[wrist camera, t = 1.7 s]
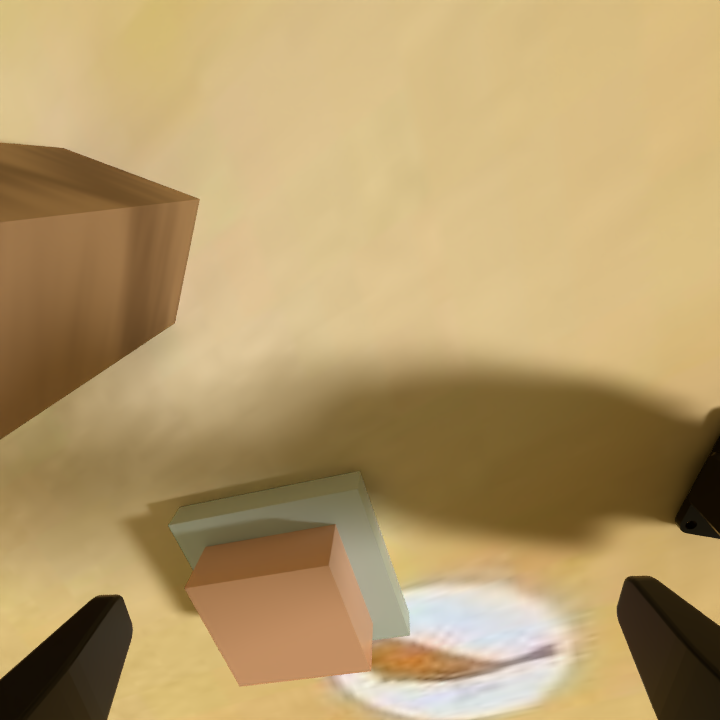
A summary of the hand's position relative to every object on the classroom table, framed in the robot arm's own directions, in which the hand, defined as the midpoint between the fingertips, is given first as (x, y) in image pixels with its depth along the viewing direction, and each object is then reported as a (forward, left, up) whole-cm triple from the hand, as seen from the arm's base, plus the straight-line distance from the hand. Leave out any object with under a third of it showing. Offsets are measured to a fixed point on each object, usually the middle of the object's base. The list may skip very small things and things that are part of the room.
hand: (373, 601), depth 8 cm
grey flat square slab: (+3, +13, -13) cm, 19 cm away
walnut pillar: (+12, -3, -13) cm, 17 cm away
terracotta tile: (+3, +13, -11) cm, 18 cm away
